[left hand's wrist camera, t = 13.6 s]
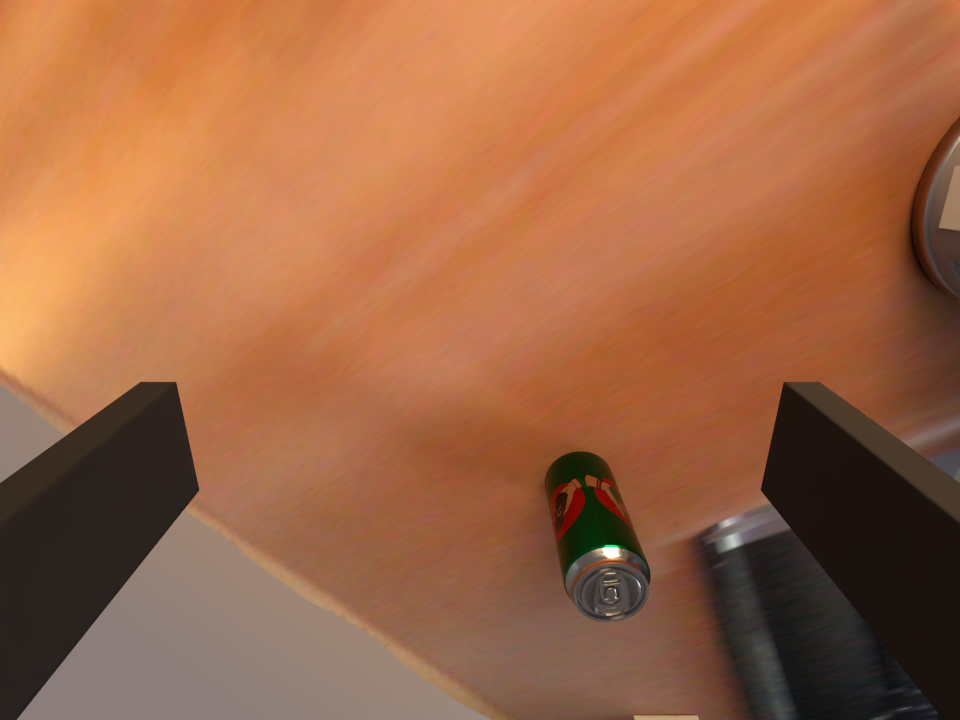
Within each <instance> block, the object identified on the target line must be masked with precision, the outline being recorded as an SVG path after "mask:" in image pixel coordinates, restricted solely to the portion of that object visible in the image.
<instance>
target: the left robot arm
mask: <svg viewBox="0 0 960 720" xmlns="http://www.w3.org/2000/svg"><path fill="white" fill-rule="evenodd" d="M912 232H913V241H914V247H915V250H916V254H917V257H918V259H919V262H920V264H921V266H922V268H923V270H924V272H925V273H926V275H927V276H928V277H929V279H930V280H931V281H932V282H933V283H934V284H935V285H936V286H937V287H938V288H939V289H940V290H941V291H943V292H944V293H945V294H947V295H948V296H950V297H952V298H953V299H955V300H958V301H960V117H959V118H958V119H957V121H956V122H955V123H954V124H953V125H952V126H951V128H950V129H949V130H948V132H947V133H946V134H945V135H944V137H943V138H942V140H941V141H940V143H939V144H938V146H937V147H936V149H935V151H934V152H933V154H932V156H931V158H930V160H929V162H928V164H927V166H926V168H925V170H924V173H923V175H922V178H921V180H920V183H919V186H918V189H917V193H916V197H915V202H914V208H913V218H912ZM198 491H199V487H198V482H197V477H196V473H195V468H194V463H193V459H192V454H191V449H190V445H189V440H188V435H187V431H186V426H185V421H184V417H183V412H182V407H181V403H180V398H179V393H178V389H177V384H176V382H140V383H139V384H137V385H136V386H135V387H133V388H132V389H130V390H129V391H128V392H126V393H125V394H123V395H122V396H121V397H119V398H118V399H116V400H115V401H114V402H112V403H111V404H110V405H108V406H107V407H105V408H104V409H103V410H101V411H100V412H98V413H97V414H96V415H94V416H93V417H91V418H90V419H89V420H87V421H86V422H85V423H83V424H82V425H80V426H79V427H78V428H76V429H75V430H73V431H72V432H71V433H69V434H68V435H66V436H65V437H64V438H62V439H61V440H60V441H58V442H57V443H55V444H54V445H53V446H51V447H50V448H48V449H47V450H46V451H44V452H43V453H41V454H40V455H39V456H37V457H36V458H35V459H33V460H32V461H30V462H29V463H28V464H26V465H25V466H24V467H22V468H21V469H19V470H18V471H16V472H15V473H14V474H12V475H11V476H10V477H8V478H7V479H5V480H4V481H3V482H1V483H0V720H17V718H18V717H19V716H20V715H21V713H22V712H23V711H24V710H25V708H26V707H27V706H28V705H29V703H30V702H31V701H32V699H33V698H34V697H35V696H36V695H37V693H38V692H39V691H40V690H41V688H42V687H43V686H44V684H45V683H46V682H47V681H48V679H49V678H50V677H51V676H52V674H53V673H54V672H55V671H56V669H57V668H58V667H59V666H60V664H61V663H62V662H63V661H64V659H65V658H66V657H67V656H68V654H69V653H70V652H71V651H72V649H73V648H74V647H75V646H76V644H77V643H78V642H79V641H80V639H81V638H82V637H83V636H84V634H85V633H86V632H87V631H88V629H89V628H90V627H91V625H92V624H93V623H94V622H95V620H96V619H97V618H98V617H99V615H100V614H101V613H102V612H103V610H104V609H105V608H106V607H107V605H108V604H109V603H110V602H111V600H112V599H113V598H114V597H115V595H116V594H117V593H118V592H119V590H120V589H121V588H122V587H123V585H124V584H125V583H126V582H127V580H128V579H129V578H130V577H131V575H132V574H133V573H134V571H135V570H136V569H137V568H138V566H139V565H140V564H141V563H142V561H143V560H144V559H145V558H146V556H147V555H148V554H149V553H150V551H151V550H152V549H153V548H154V546H155V545H156V544H157V543H158V541H159V540H160V539H161V538H162V536H163V535H164V534H165V533H166V531H167V530H168V529H169V527H170V526H171V525H172V524H173V523H174V521H175V520H176V519H177V518H178V516H179V515H180V514H181V512H182V511H183V510H184V509H185V507H186V506H187V505H188V504H189V502H190V501H191V500H192V499H193V497H194V496H195V495H196V494H197V492H198ZM761 491H762V492H763V494H764V495H765V496H766V497H767V499H768V500H769V501H770V502H771V504H772V505H773V506H774V507H775V509H776V510H777V511H778V512H779V514H780V515H781V516H782V518H783V519H784V520H785V521H786V523H787V524H788V525H789V526H790V528H791V529H792V530H793V531H794V533H795V534H796V535H797V536H798V538H799V539H800V540H801V541H802V543H803V544H804V545H805V546H806V548H807V549H808V550H809V551H810V553H811V554H812V555H813V556H814V558H815V559H816V560H817V561H818V563H819V564H820V565H821V566H822V568H823V569H824V570H825V571H826V573H827V574H828V575H829V577H830V578H831V579H832V580H833V582H834V583H835V584H836V585H837V587H838V588H839V589H840V590H841V592H842V593H843V594H844V595H845V597H846V598H847V599H848V600H849V602H850V603H851V604H852V605H853V607H854V608H855V609H856V610H857V612H858V613H859V614H860V615H861V617H862V618H863V619H864V620H865V622H866V623H867V624H868V625H869V627H870V628H871V629H872V631H873V632H874V633H875V634H876V636H877V637H878V638H879V639H880V641H881V642H882V643H883V644H884V646H885V647H886V648H887V649H888V651H889V652H890V653H891V654H892V656H893V657H894V658H895V659H896V661H897V662H898V663H899V664H900V666H901V667H902V668H903V669H904V671H905V672H906V673H907V674H908V676H909V677H910V678H911V679H912V681H913V682H914V683H915V684H916V686H917V687H918V688H919V690H920V691H921V692H922V693H923V695H924V696H925V697H926V698H927V700H928V701H929V702H930V703H931V705H932V706H933V707H934V708H935V710H936V711H937V712H938V713H939V715H940V716H941V717H942V718H943V720H960V483H959V482H957V481H956V480H955V479H953V478H952V477H950V476H949V475H948V474H946V473H945V472H944V471H942V470H941V469H939V468H938V467H937V466H935V465H934V464H932V463H931V462H930V461H928V460H927V459H925V458H924V457H923V456H921V455H920V454H919V453H917V452H916V451H914V450H913V449H912V448H910V447H909V446H907V445H906V444H905V443H903V442H902V441H900V440H899V439H898V438H896V437H895V436H894V435H892V434H891V433H889V432H888V431H887V430H885V429H884V428H882V427H881V426H880V425H878V424H877V423H875V422H874V421H873V420H871V419H870V418H869V417H867V416H866V415H864V414H863V413H862V412H860V411H859V410H857V409H856V408H855V407H853V406H852V405H850V404H849V403H848V402H846V401H845V400H844V399H842V398H841V397H839V396H838V395H837V394H835V393H834V392H832V391H831V390H830V389H828V388H827V387H825V386H824V385H823V384H821V383H820V382H784V384H783V389H782V393H781V398H780V403H779V407H778V412H777V417H776V421H775V426H774V431H773V435H772V440H771V445H770V449H769V454H768V459H767V463H766V468H765V473H764V477H763V482H762V487H761Z"/></svg>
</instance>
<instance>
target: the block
mask: <svg viewBox="0 0 960 720" xmlns="http://www.w3.org/2000/svg"><path fill="white" fill-rule="evenodd" d="M633 720H699V719H698V716H697V715H634V716H633Z"/></svg>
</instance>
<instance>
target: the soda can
mask: <svg viewBox="0 0 960 720" xmlns="http://www.w3.org/2000/svg"><path fill="white" fill-rule="evenodd" d="M545 486H546V492H547V497H548V502H549V507H550V513H551V518H552V523H553V529H554V534H555V539H556V545H557V550H558V555H559V561H560V566H561V571H562V577H563V582H564V587H565V591H566V593H567V595H568V596H569V598H570V599H571V600H572V601H573V602H574V603H575V605H576V607H577V608H578V610H579V611H580V612H581V613H582V614H584V615H585V616H586V617H588V618H590V619H593V620H596V621H600V622H615V621H620V620H624V619H626V618H629V617H631V616H632V615H634V614H635V613H637V612H638V611H639V610H640V609H641V608H642V607H643V605H644V604H645V602H646V600H647V598H648V594H649V583H650V569H649V566H648V564H647V561H646V558H645V556H644V553H643V551H642V548H641V546H640V543H639V541H638V538H637V536H636V533H635V530H634V528H633V525H632V523H631V520H630V518H629V515H628V513H627V510H626V508H625V505H624V503H623V500H622V497H621V495H620V492H619V490H618V487H617V485H616V482H615V480H614V477H613V475H612V472H611V469H610V467H609V466H608V464H607V463H606V462H605V461H604V460H603V459H602V458H601V457H599V456H597V455H595V454H593V453H589V452H572V453H569V454H566V455H564V456H562V457H560V458H558V459H557V460H556V461H555V462H554V463H553V464H552V465H551V466H550V468H549V469H548V471H547V474H546V478H545Z"/></svg>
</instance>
